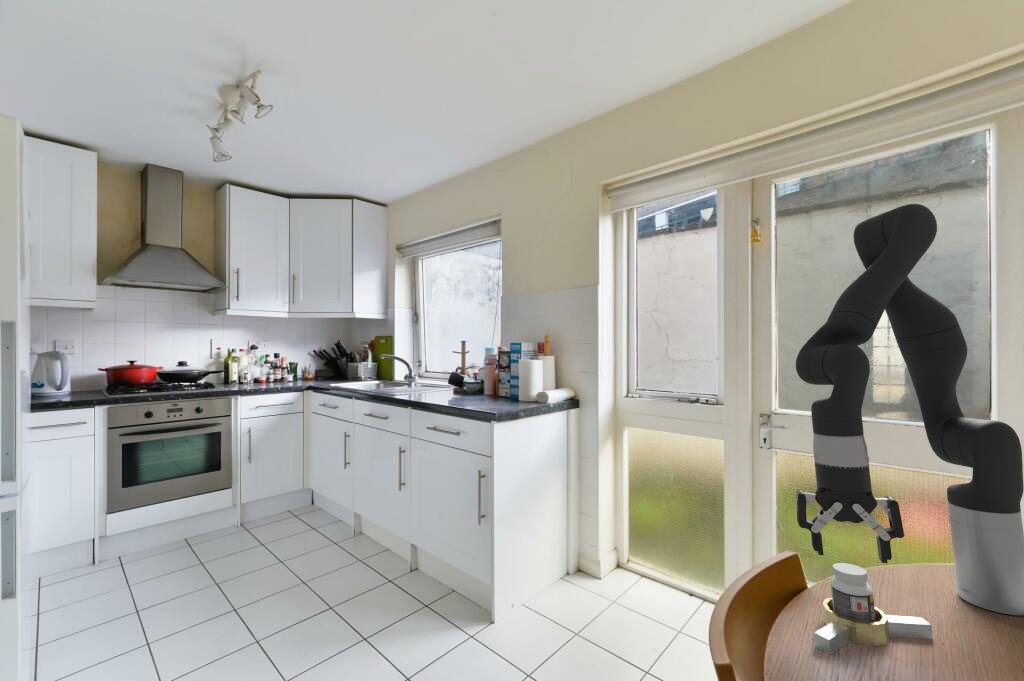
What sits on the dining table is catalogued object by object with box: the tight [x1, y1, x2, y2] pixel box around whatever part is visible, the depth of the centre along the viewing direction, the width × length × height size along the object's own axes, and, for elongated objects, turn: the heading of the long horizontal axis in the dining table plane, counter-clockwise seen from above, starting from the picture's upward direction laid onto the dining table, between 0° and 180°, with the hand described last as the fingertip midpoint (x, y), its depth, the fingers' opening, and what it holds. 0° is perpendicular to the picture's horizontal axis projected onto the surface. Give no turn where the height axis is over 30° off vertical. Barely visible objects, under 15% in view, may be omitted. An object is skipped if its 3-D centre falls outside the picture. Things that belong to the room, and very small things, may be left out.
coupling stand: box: [813, 597, 934, 655], centre depth 73 cm, size 20×9×3 cm, turn 98°
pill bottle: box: [830, 562, 876, 623], centre depth 73 cm, size 6×6×10 cm
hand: (850, 557), depth 73 cm, fingers open, 8 cm apart
